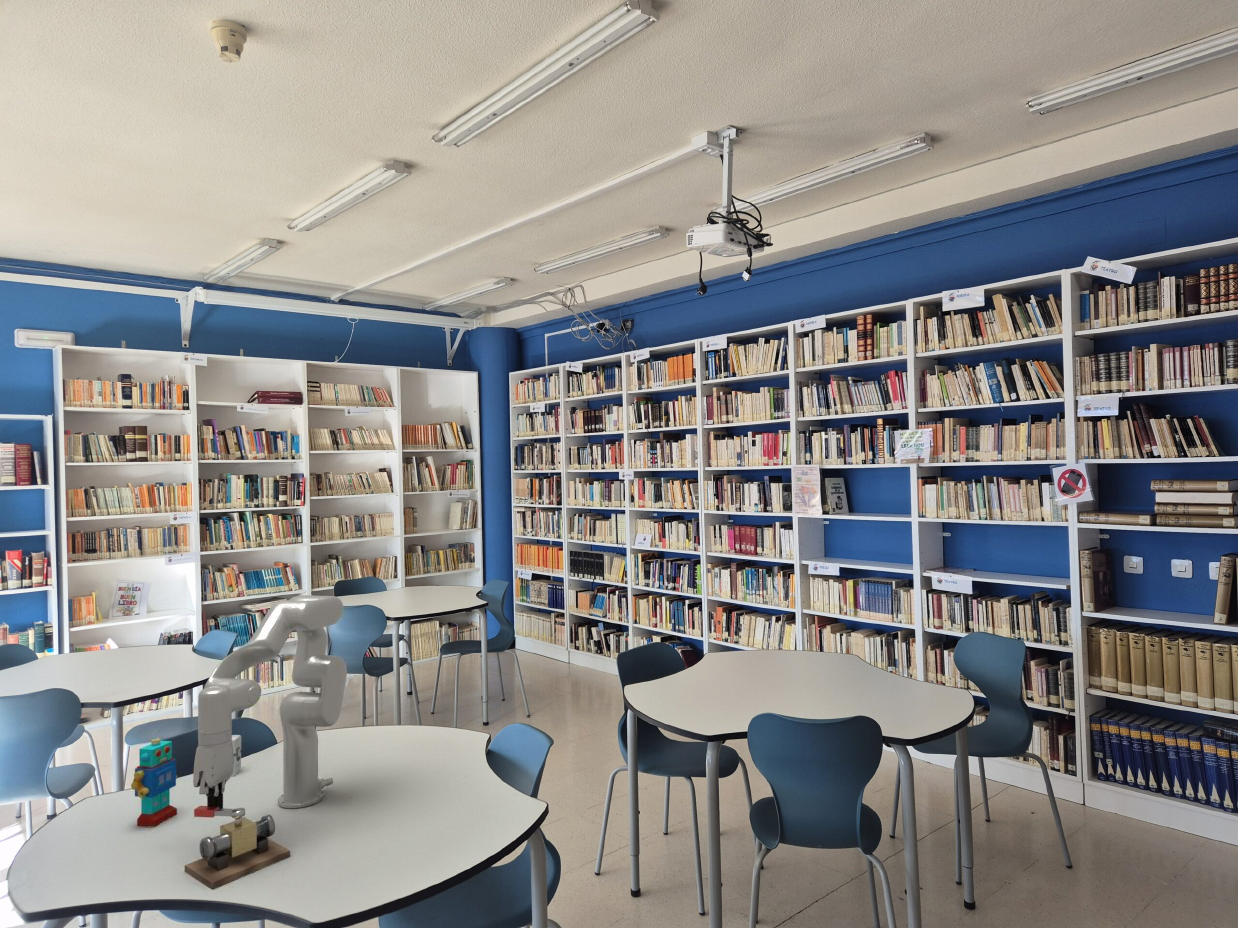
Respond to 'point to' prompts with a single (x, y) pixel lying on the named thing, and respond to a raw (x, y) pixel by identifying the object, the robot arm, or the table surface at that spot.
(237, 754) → the ink box
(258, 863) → the mounting board
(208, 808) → the valve lever
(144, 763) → the toy robot
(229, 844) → the valve pipe
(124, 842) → the table surface
